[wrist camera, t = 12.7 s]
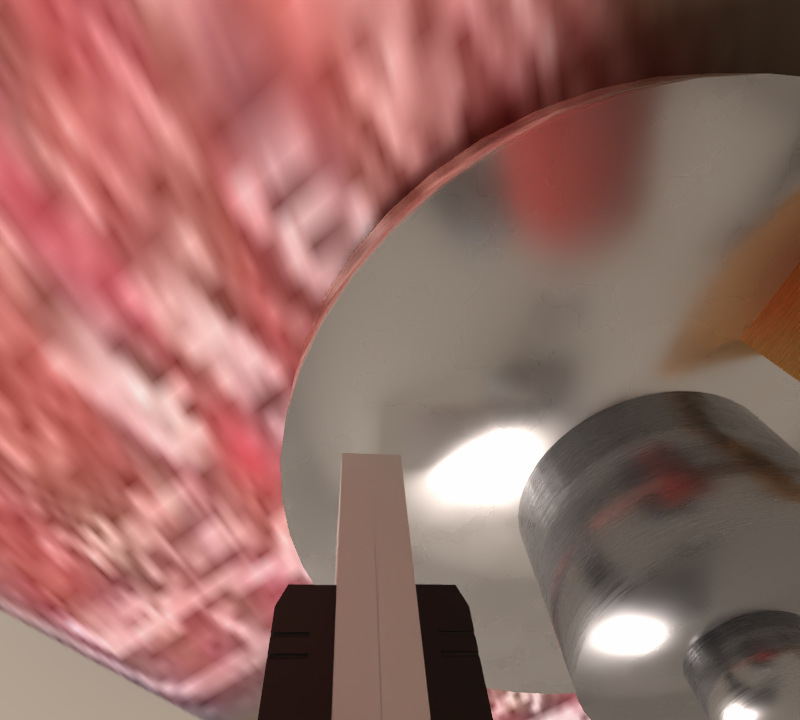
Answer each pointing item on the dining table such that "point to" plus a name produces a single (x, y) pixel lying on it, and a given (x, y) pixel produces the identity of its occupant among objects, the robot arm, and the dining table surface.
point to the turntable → (551, 324)
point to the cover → (671, 560)
